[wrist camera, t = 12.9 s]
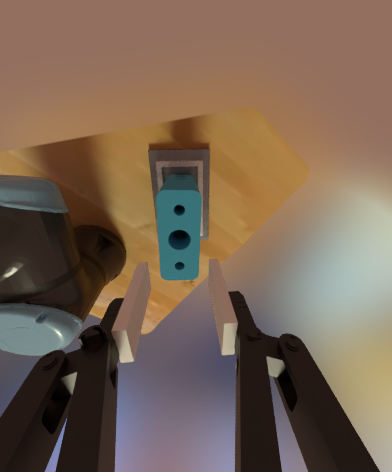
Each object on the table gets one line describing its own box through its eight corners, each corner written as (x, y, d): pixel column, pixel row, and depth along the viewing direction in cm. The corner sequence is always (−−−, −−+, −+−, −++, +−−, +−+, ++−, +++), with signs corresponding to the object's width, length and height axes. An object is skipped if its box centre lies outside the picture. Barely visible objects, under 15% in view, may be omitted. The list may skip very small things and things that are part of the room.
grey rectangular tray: (158, 239, 45) (157, 245, 43) (148, 150, 37) (146, 150, 34) (207, 237, 46) (209, 243, 43) (208, 149, 38) (210, 149, 35)
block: (168, 170, 38) (155, 189, 20) (193, 171, 38) (202, 190, 20) (170, 225, 43) (160, 280, 25) (191, 225, 43) (198, 279, 25)
